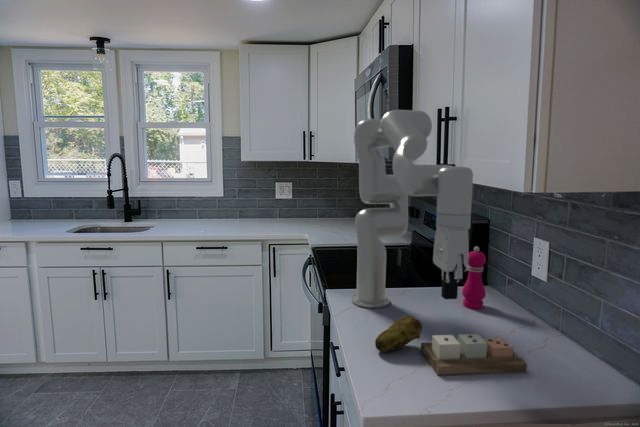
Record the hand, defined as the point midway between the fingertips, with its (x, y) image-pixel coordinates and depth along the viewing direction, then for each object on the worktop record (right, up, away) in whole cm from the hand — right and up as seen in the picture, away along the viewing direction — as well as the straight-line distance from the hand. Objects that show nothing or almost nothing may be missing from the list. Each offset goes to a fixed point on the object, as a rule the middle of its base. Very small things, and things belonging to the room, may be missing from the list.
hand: (449, 297), depth 100 cm
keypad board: (+6, -16, +3) cm, 17 cm away
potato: (-10, -15, +10) cm, 21 cm away
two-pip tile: (+6, -14, +3) cm, 16 cm away
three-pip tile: (+13, -16, +4) cm, 20 cm away
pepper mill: (+20, -11, +40) cm, 46 cm away
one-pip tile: (0, -14, +2) cm, 15 cm away
